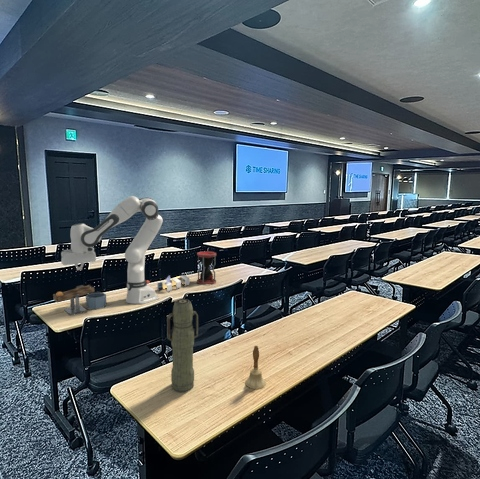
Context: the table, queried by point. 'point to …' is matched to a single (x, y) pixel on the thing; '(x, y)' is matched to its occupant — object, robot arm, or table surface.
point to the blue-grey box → (96, 300)
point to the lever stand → (73, 308)
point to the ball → (59, 294)
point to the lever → (71, 293)
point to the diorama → (173, 282)
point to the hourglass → (206, 267)
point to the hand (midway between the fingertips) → (79, 269)
